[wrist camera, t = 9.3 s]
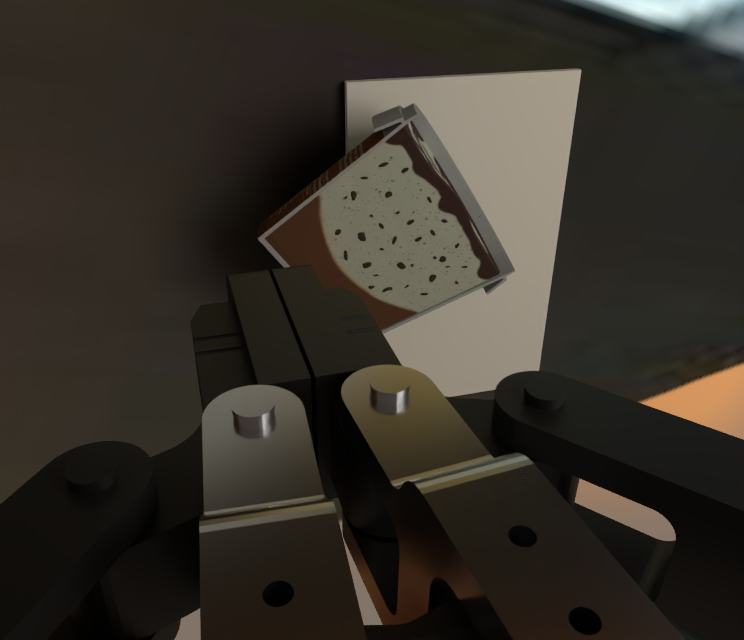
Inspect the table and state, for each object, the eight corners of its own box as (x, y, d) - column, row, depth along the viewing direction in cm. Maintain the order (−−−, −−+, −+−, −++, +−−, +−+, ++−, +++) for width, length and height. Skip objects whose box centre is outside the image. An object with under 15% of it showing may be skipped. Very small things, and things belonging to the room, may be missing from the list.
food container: (357, 297, 47) (490, 219, 44) (370, 360, 42) (519, 277, 40) (238, 160, 40) (390, 57, 37) (238, 218, 35) (411, 104, 32)
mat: (350, 408, 49) (351, 412, 49) (344, 80, 38) (346, 82, 38) (533, 378, 52) (537, 382, 52) (576, 68, 41) (581, 69, 41)
